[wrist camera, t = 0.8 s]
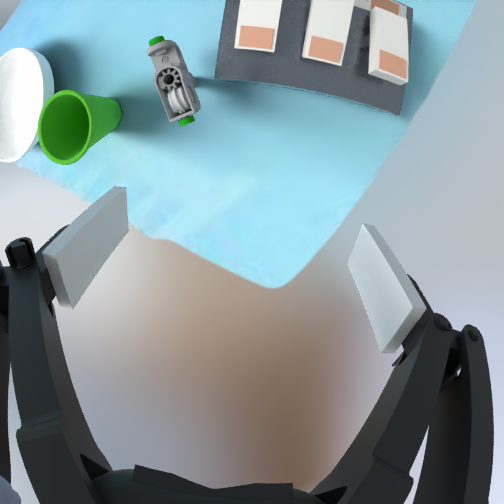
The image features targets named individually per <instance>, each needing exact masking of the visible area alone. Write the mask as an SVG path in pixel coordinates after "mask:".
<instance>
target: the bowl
mask: <svg viewBox="0 0 504 504" xmlns="http://www.w3.org/2000/svg"><path fill="white" fill-rule="evenodd" d="M52 95H54V78H53V74H52V69H51V67H50V65H49V62H48V61H47V60H46V58H45V57H44V56H43V55H41V54H40V53H38V52H37V51H35V50H34V49H29V48H23V47H19V48H14V49H12V50H10V51H8V52H7V53H6V54H4V55H3V56H2V57H1V58H0V161H3V162H6V163H7V162H14V161H16V160H18V159H20V158H21V157H23V156H24V155H25V154H27V153H28V152H29V151H30V150H31V149H32V148H33V147H34V146H35V145H36V143H37V142H38V141H39V140H38V133H37V128H38V120H39V115H40V113H41V110H42V108H43V106H44V105H45V103H46V102H47V100H48V99H49V98H50V97H51V96H52Z"/></svg>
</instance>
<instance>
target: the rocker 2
mask: <svg viewBox="0 0 504 504" xmlns="http://www.w3.org/2000/svg"><path fill="white" fill-rule="evenodd" d="M353 6H354V0H311V6H310V12H309V18H308V23H307V29H306V35H305V40H304V46H303V51H302V57H304V58H309V59H314V60H318V61H323V62H327V63H331V64H335V65H339V66H341V65H342V60H343V56H344V51H345V46H346V42H347V37H348V32H349V27H350V22H351V17H352V11H353Z"/></svg>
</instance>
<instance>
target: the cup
mask: <svg viewBox="0 0 504 504" xmlns="http://www.w3.org/2000/svg"><path fill="white" fill-rule="evenodd" d="M121 115H122V112H121V107H120V105H119V104H118V102H117V101H116V100H114V99H112V98H106V97H100V96H94V95H87V94H81V93H79V92H77V91H75V90H69V89H66V90H61V91H59V92H57V93H55V94H54V95H52V96H51V97H50V98H49V99H48V100H47V102H46V103H45V105H44V106H43V108H42V110H41V113H40V115H39V120H38V128H37V133H38V140H39V143H40V146H41V148H42V150H43V152H44V154H45V155H46V156H47V157H48V158H49V159H50V160H52V161H53V162H55V163H58V164H61V165H69V164H72V163H75V162H76V161H78V160H79V159H80V158H82V156H83V155H84V154H85V153H86V151H87V149H89V148H90V147H91V146H92V145H94V144H95V143H96V142H98V141H99V140H100V139H101V138H103V137H104V136H105V135H107V134H108V133H110V132H111V131H112V130H114V129H115V128H116V127H117V126H118V124H119V122H120V119H121Z"/></svg>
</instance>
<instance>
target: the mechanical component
mask: <svg viewBox="0 0 504 504" xmlns="http://www.w3.org/2000/svg"><path fill="white" fill-rule="evenodd" d="M149 45H150V47H149V48H148V49H147V53H148V56H151V58H152V61H153V64H154V66H155V69H156V73H155V76H154V86H155V88H156V89H157V90H158V92H159V95H160V98H161V100H162V103H163V106H164V108H165V111H166V113H167V116H168V119H169V121H170V122H173V121H176V120H178V119H181V120H179V121H178V122H179V125H180V126H183V125H186V124H188V123H191V122H193V121H195V120H194V117H193V115H192V116H189V115H191V114H193V113H196V112H198V110H200V102H199V99H198V97H197V94H196V91H195V89H194V86H196V85H197V84H198V80H197V79H196V78H195V77H193V76H192V74H191V73H190V72H188V70H187V67H186V64H185V62H184V59H183V56H182V54H181V51H180V49H179V47H178V45H177V44H176V43H175V42H173V41H171V40H164V37H163V36H159V37H156V38H153V39H151V40H150V41H149ZM166 96H167V97H168V102H169V105H170V107H171V108H172V110H173V112H172V111H171V109H170V108H169V106H168V104H167V101H166Z"/></svg>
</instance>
